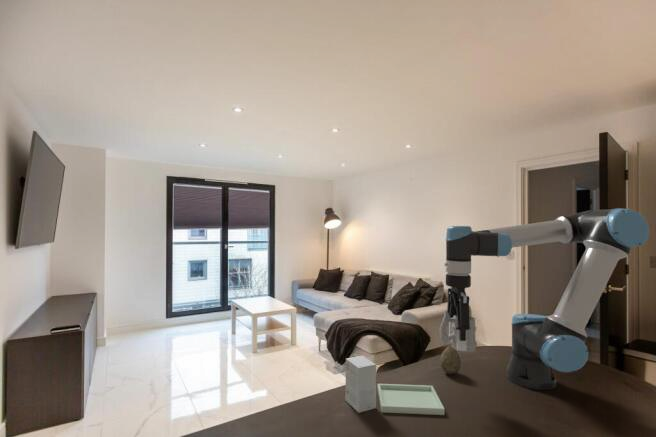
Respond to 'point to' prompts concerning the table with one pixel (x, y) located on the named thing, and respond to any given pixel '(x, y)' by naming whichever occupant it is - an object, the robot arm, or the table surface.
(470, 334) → the mug
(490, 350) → the table surface
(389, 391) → the tray
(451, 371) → the decorative egg
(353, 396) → the small box
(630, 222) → the robot arm
